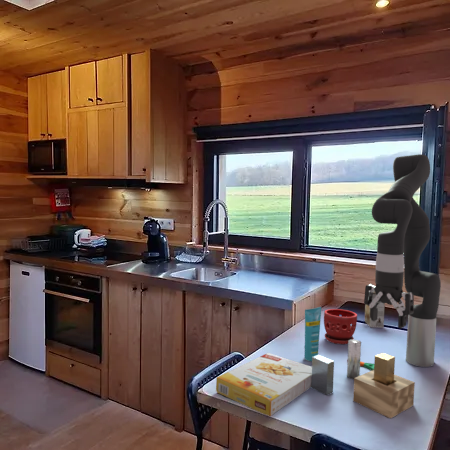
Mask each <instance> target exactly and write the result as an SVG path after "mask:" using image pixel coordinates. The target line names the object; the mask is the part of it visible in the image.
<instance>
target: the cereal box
mask: <svg viewBox="0 0 450 450" xmlns="http://www.w3.org/2000/svg"><path fill="white" fill-rule="evenodd" d="M215 384H216V385H215V391H216V393H217V394H219V395H222V396H223V397H226V398H228V399H230V400H232V401H234V402H237V403H239V404H241V405H243V406H246V407H247V408H249V409H252V410H254V411H256V412H258V413H260V414H263V415H266V416H268V417H271V416H272V415H274V414H275V413H277V412H278V411H279V410H281V409H282V408H283V407H285V406H286V405H288V404H289V403H290V402H292V401H293V400H296V399H297V397H299V396H300V395H302V394H303V393H305V392H306V391H308V390H309V389H310V388H311V384H312V365H311V366H310V365H308V364H304V363H301V362H297V361H294V360H292V359H287V358H285V357H282V356H280V355H276V354H273V353H270V352H267V353H265V354H262V355H261V356H259V357H258V356H257V358H255V359H252V360H250V361H248V362H246V363H244V364H241V365H239V366H237V367H235V368H233V369H231V370H229V371H226V372H225V373H223V374H220V375H219V376H217V377H216V383H215Z"/></svg>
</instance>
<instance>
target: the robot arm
mask: <svg viewBox="0 0 450 450" xmlns="http://www.w3.org/2000/svg"><path fill="white" fill-rule="evenodd" d="M392 171H393V179H394V183H392V185H391V186H390V188H389V189H388V191H387V192H385V193H383V195H381V196H379V197H378V198H377V199H376V200H375V201H374V203H373V205H372V207H371V217H372V219H373V220H374V221H375V223H379V224H385V225H386V224H387V225H396V227H395V229H393V230H390V231H384V232H380V233H378V235H377V246H376V247H377V248H376V249H377V251H376V252H377V253H376V259H375V279H374V283H375V285H374V284H372V283H370V284H367V285H365V289H364V300H363V304H364V306H365V305H368V306H369V307H370V318H371V320H372V321H376V320H377V317H378V308H377V306H378V305H379V303H385V304H387V305H389V306H393V308H394V309H395V310H396V311H397V313H398V317H397V318H398V321H397V328H399V329H404V328H405V327H406V325H407V332H406V351H405V361H406V362H407V363H408V364H411V365H413V366H415V367H421V368H428V367H433V366H434V362H435V351H436V332H437V331H436V329H437V314H438V311H439V305H440V303H439V302H440V294H441V288H442V287H441V278H440V276H439V275H438V274H437V273H433V272H428V271H424V270H423V271H422V270H420V257H421V255H422V253H423V251H424V250H425V248H426V247H427V245H428V243H429V242H430V240H431V228H430V219H429V217H428V215H427V213H426V212H425V210H424V209H423V208H422V206H421V205H420V204H419V203H418V202H417V201H416V200H415V199H414V195H415V193H416V192H417V191H418V190H419V189H420V188H421V187H422V186H423V185H424V184H425V183H426V182H427V180H428V179H429V177H430V173H431V164H430V159H429V157H428V156H427V155H426V154H419V153H418V154H411V155H403V156H402V155H401V156H397V157H395V158H394V160H393V162H392ZM403 287H404V288H405V291H406V292H404V290H403ZM374 291H375V293H376V295H377V296H376V297H375V298H374V299H373V292H374ZM414 297H420V298H422V303H420V304H415V303H414V302H415V298H414ZM402 298H403V299H402ZM372 299H373V301H372ZM403 300H404V301H403Z"/></svg>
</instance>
